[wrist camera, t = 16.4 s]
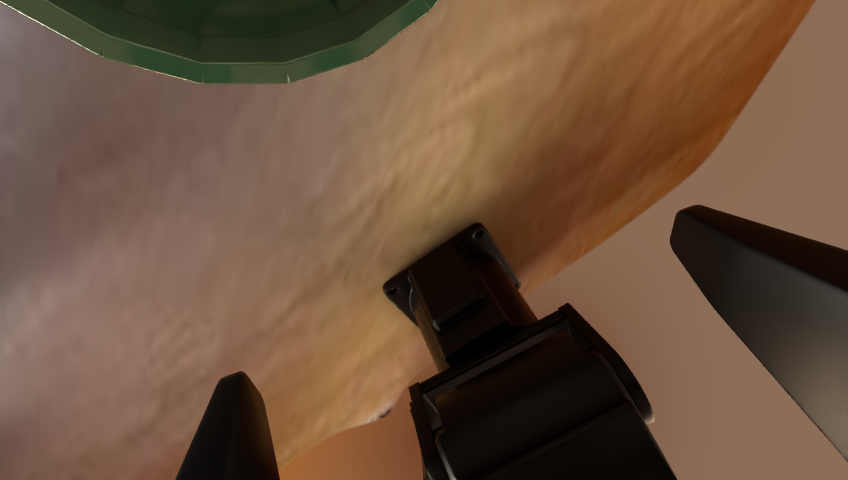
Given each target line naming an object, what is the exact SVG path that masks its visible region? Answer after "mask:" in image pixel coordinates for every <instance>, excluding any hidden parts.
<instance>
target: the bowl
mask: <svg viewBox="0 0 848 480" xmlns="http://www.w3.org/2000/svg"><path fill="white" fill-rule="evenodd" d="M438 1H439V0H0V2H1V3H3V4H4V5H6V6H8V7H10V8H12V9H14V10H15V11H17V12H19V13H21V14H23V15H24V16H26V17H28V18H30V19H32V20H34V21H35V22H37V23H39V24H41V25H43V26H45V27H46V28H48V29H50V30H52V31H54V32H56V33H57V34H59V35H61V36H63V37H65V38H67V39H68V40H70V41H72V42H74V43H76V44H78V45H79V46H81V47H83V48H85V49H87V50H89V51H90V52H92V53H94V54H96V55H98V56H102V57H103V58H105V59H108V60H112V61H116V62H120V63H123V64H127V65H131V66H134V67H138V68H142V69H146V70H149V71H153V72H157V73H160V74H164V75H168V76H172V77H175V78H179V79H183V80H186V81H190V82H194V83H198V84H201V83H202V84H283V83H288V82H290V83H292V82H295V81H298V80H301V79H304V78H307V77H310V76H313V75H316V74H319V73H323V72H326V71H329V70H332V69H335V68H338V67H341V66H344V65H347V64H350V63H353V62H356V61H359V60H362V59H364V57H368V56H369V55H371V54H372V53H374V52H375V51H376V50H378V49H379V48H380V47H382V46H383V45H385V44H386V43H387V42H389V41H390V40H392V39H393V38H394V37H396V36H397V35H398V34H400V33H401V32H403V31H404V30H405V29H407V28H408V27H409V26H411V25H412V24H414V23H415V22H416V21H418V20H419V19H420V18H422V17H423V16H425V15H426V14H427V13H429V12H430V10H432V9H433V8H434V6H435V5H436V4H437V2H438Z"/></svg>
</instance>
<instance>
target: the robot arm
mask: <svg viewBox="0 0 848 480" xmlns="http://www.w3.org/2000/svg"><path fill="white" fill-rule="evenodd" d="M478 231H479V232H478ZM476 232H478V233H477V234H475V233H476ZM670 244H671V247H672V250H673V252H674V253H675V254H676V256H677V257H678V259H679V260H680V262H681V263H682V264H683V266H684V267H685V269H686V270H687V271H688V273H689V274H690V276H691V277H692V278H693V280H694V281H695V283H696V284H697V286H698V287H699V288H700V290H701V291H702V293H703V294H704V296H705V297H706V298H707V300H708V301H709V302H710V304H711V305H712V306H713V308H714V309H715V310H716V311H717V313H718V314H719V315H720V316H721V317H722V319H723V320H724V321H725V322H726V323H727V324H728V325H729V327H730V328H731V329H732V330H733V331H734V332H735V333H736V335H737V336H738V337H739V338H740V339H741V340H742V342H743V343H744V344H745V345H746V346H747V347H748V348H749V349H750V351H751V352H752V353H753V354H754V355H755V356H756V357H757V359H758V360H759V361H760V362H761V363H762V364H763V366H764V367H765V368H766V369H767V370H768V371H769V372H770V374H771V375H772V376H773V377H774V378H775V379H776V380H777V382H778V383H779V384H780V385H781V386H782V387H783V388H784V390H785V391H786V392H787V393H788V394H789V395H790V396H791V398H792V399H793V400H794V401H795V402H796V403H797V405H798V406H799V407H800V408H801V409H802V410H803V411H804V413H805V414H806V415H807V416H808V417H809V418H810V419H811V421H812V422H813V423H814V424H815V425H816V426H817V427H818V428H819V430H820V431H821V432H822V433H823V434H824V435H825V437H826V438H827V439H828V440H829V441H830V442H831V443H832V445H833V446H834V447H835V448H836V449H837V450H838V451H839V453H840V454H841V455H842V456H843V457H844V458H845V460H846V461H847V462H848V250H844V249H841V248H837V247H835V246H831V245H828V244H825V243H822V242H819V241H815V240H812V239H809V238H805V237H802V236H799V235H796V234H793V233H789V232H786V231H783V230H780V229H776V228H773V227H770V226H767V225H763V224H760V223H757V222H754V221H750V220H747V219H744V218H741V217H738V216H734V215H731V214H728V213H725V212H721V211H718V210H715V209H712V208H709V207H705V206H702V205H693V206H690V207H687V208H685V209H682V210H680V211H679V212H678V213H677V214H676V216H675V220H674V225H673V228H672V233H671V237H670ZM392 288H394V289H392ZM520 288H521V282H520V281H519V279H518V277H517V276H516V274H515V273H514V271H513V270H512V268H511V267H510V265H509V263H508V262H507V260H506V259H505V257H504V256H503V254H502V253H501V251H500V250H499V248H498V246H497V245H496V243H495V242H494V240H493V239H492V237H491V236H490V234H489V233H488V231H487V229H486V228H485V227H484V225H483V224H482V223H475V224H473V225H471V226H469V227H468V228H466V229H465V230H463V231H462V232H460V233H459V234H457V235H456V236H455V237H453V238H452V239H450V240H449V241H447V242H446V243H444V244H443V245H441V246H440V247H438V248H437V249H435V250H434V251H432V252H431V253H429V254H428V255H426V256H425V257H423V258H422V259H420V260H419V261H417V262H416V263H414V264H413V265H411V266H410V267H408V268H407V269H405V270H404V271H402V272H401V273H399V274H398V275H396V276H395V277H393V278H392V279H390V280H389V281H387V282H386V283H385V284H384V286H383V291H384V293H385V295H386V297H387V298H388V299H389V300H390V301H392V302H393V303H394V304H395V305H396V306H397V307H398V308H399V309H400V310H401V311H402V312H403V313H404V314H405V315H406V316H407V317H408V318H409V319H410V320H411V321H412V322H413V323H414V324H415V325H416V326H418V327H419V328H420V330H421V332H422V335H423V337H424V339H425V342H426V344H427V346H428V349H429V351H430V353H431V356H432V358H433V360H434V363H435V365H436V367H437V370H438V372H439V373H438V374H436V375H434V376H432V377H431V378H429V379H427V380H425V381H423V382H421V383H419V382H417V383H415V384H413V385H412V386H410V387H409V391H410V396H411V400H412V402H410V406H411V410H410V412H411V414H412V417H413V420H414V423H415V427H416V431H417V436H418V440H419V444H420V448H421V455H422V468H423V480H677V478H676V476H675V474H674V473H673V471H672V469H671V467H670V465H669V464H668V462H667V460H666V459H665V457H664V455H663V453H662V451H661V450H660V448H659V446H658V444H657V443H656V441H655V439H654V437H653V436H652V434H651V432H650V430H649V428H648V427H647V425H649V424H651V423H653V422H654V419H655V418H654V414H653V411H652V408H651V405H650V403H649V401H648V399H647V397H646V395H645V393H644V392H643V390H642V388H641V386H640V384H639V383H638V381H637V379H636V378H635V376H634V375H633V373H632V372H631V370H630V369H629V367H628V366H627V365H626V363H625V362H624V361H623V359H622V358H621V357H620V356H619V354H618V353H617V352H616V351H615V350H614V349H613V348H612V347H611V346H610V345H609V344H608V343H607V342H606V341H605V340H604V339H603V338H602V337H601V336H600V335H599V334H598V333H597V332H596V330H595V329H594V328H593V327H591V326H590V324H589V323H588V322H587V321H586V320H585V319H584V318H583V317H582V316H581V315H580V314H579V313H578V312H577V311H576V310H575V309H574V308H573V307H572V306H571V305H570V304H569V303H566V304H565V305H563V306H561V307H559V308H558V310H557V311H555V312H553V313H552V314H550V315H548V316H546V317H544V318H542V319H540V320H538V319H537V317H536V316H535V314H534V313H533V312H532V310H531V309H530V307H529V306H528V304H527V303H526V301H525V300H524V298H523V297H522V295H521V294H520V292H519V291H518V290H519V289H520ZM391 289H392V290H391ZM175 480H280V478H279V473H278V467H277V462H276V457H275V453H274V448H273V443H272V438H271V433H270V429H269V424H268V419H267V414H266V409H265V405H264V401H263V398H262V396H261V394H260V392H259V391H258V390H257V388H256V387H255V385H254V384H253V383H252V381H251V380H250V379H249V377H248V376H247V374H246V373H244V372H242V371H240V372H236V373H233V374H231V375H228V376H225V377H223V378H221V379H220V380H219V382H218V383H217V386H216V388H215V390H214V392H213V395H212V397H211V399H210V402H209V404H208V406H207V408H206V411H205V413H204V415H203V418H202V420H201V422H200V424H199V427H198V429H197V431H196V434H195V436H194V438H193V440H192V443H191V445H190V447H189V449H188V452H187V454H186V456H185V459H184V461H183V463H182V465H181V468H180V470H179V472H178V475H177V477H176V479H175Z"/></svg>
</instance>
